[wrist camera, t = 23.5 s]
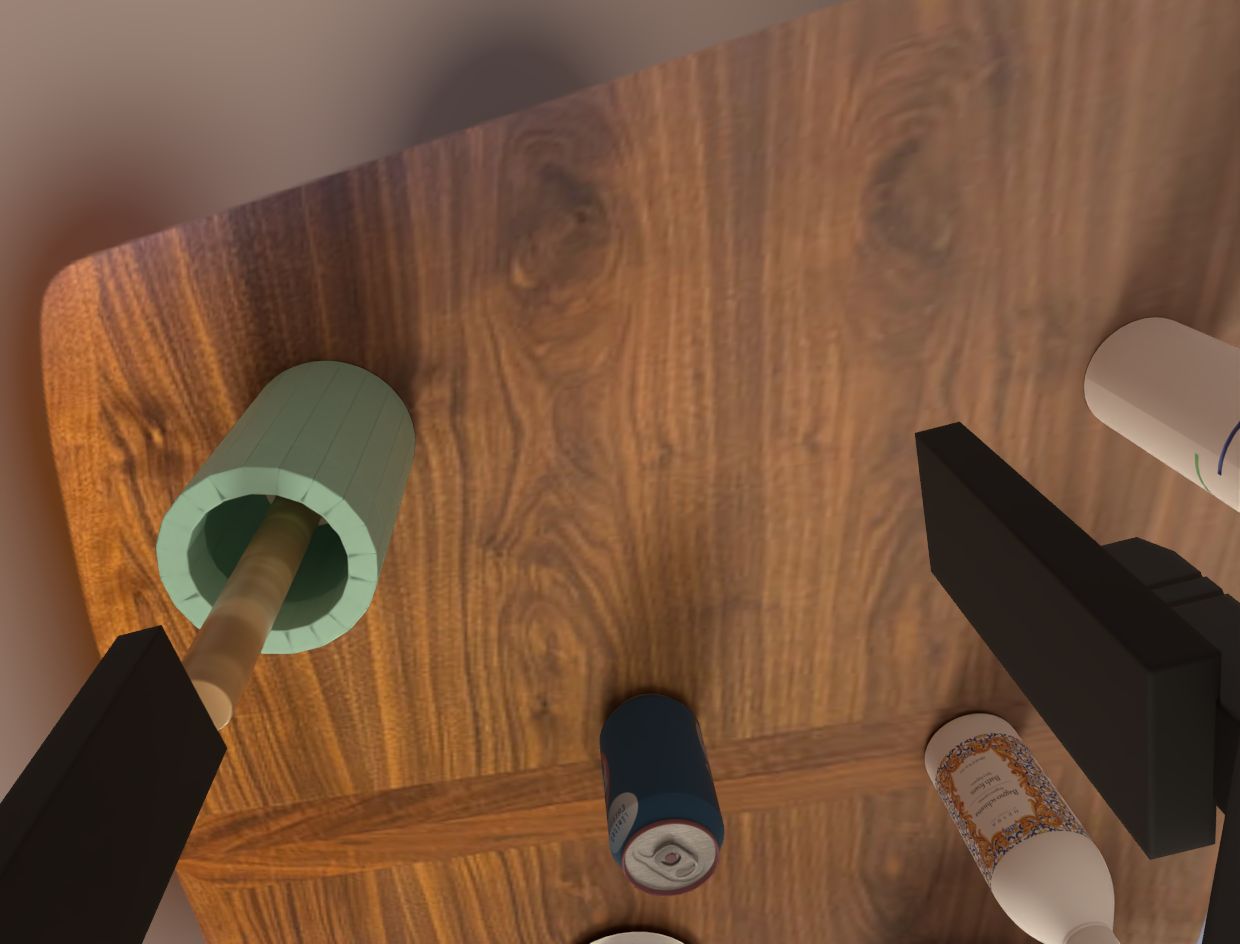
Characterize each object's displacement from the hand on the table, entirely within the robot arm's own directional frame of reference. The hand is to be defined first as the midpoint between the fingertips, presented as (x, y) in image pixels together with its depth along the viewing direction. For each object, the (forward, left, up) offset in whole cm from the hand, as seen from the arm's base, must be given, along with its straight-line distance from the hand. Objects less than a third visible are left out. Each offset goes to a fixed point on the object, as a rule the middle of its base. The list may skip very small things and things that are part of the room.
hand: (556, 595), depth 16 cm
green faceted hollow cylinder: (+15, +9, -39) cm, 42 cm away
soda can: (+2, +35, -39) cm, 52 cm away
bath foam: (-20, +44, -39) cm, 62 cm away
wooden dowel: (+15, +9, -38) cm, 42 cm away
